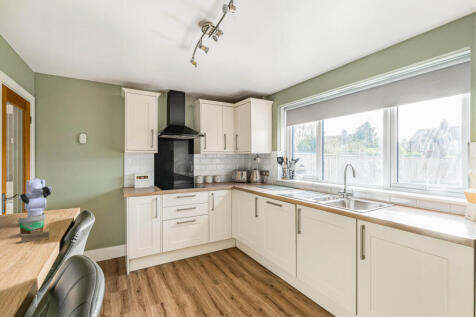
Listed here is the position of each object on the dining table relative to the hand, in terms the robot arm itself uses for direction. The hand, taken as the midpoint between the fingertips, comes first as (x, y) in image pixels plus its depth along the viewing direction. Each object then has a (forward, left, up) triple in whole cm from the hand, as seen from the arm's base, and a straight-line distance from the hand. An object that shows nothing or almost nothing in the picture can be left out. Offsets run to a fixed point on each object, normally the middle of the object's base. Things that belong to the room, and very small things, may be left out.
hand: (35, 199), depth 121 cm
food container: (+3, 0, -18) cm, 18 cm away
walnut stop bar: (+14, 0, -18) cm, 23 cm away
